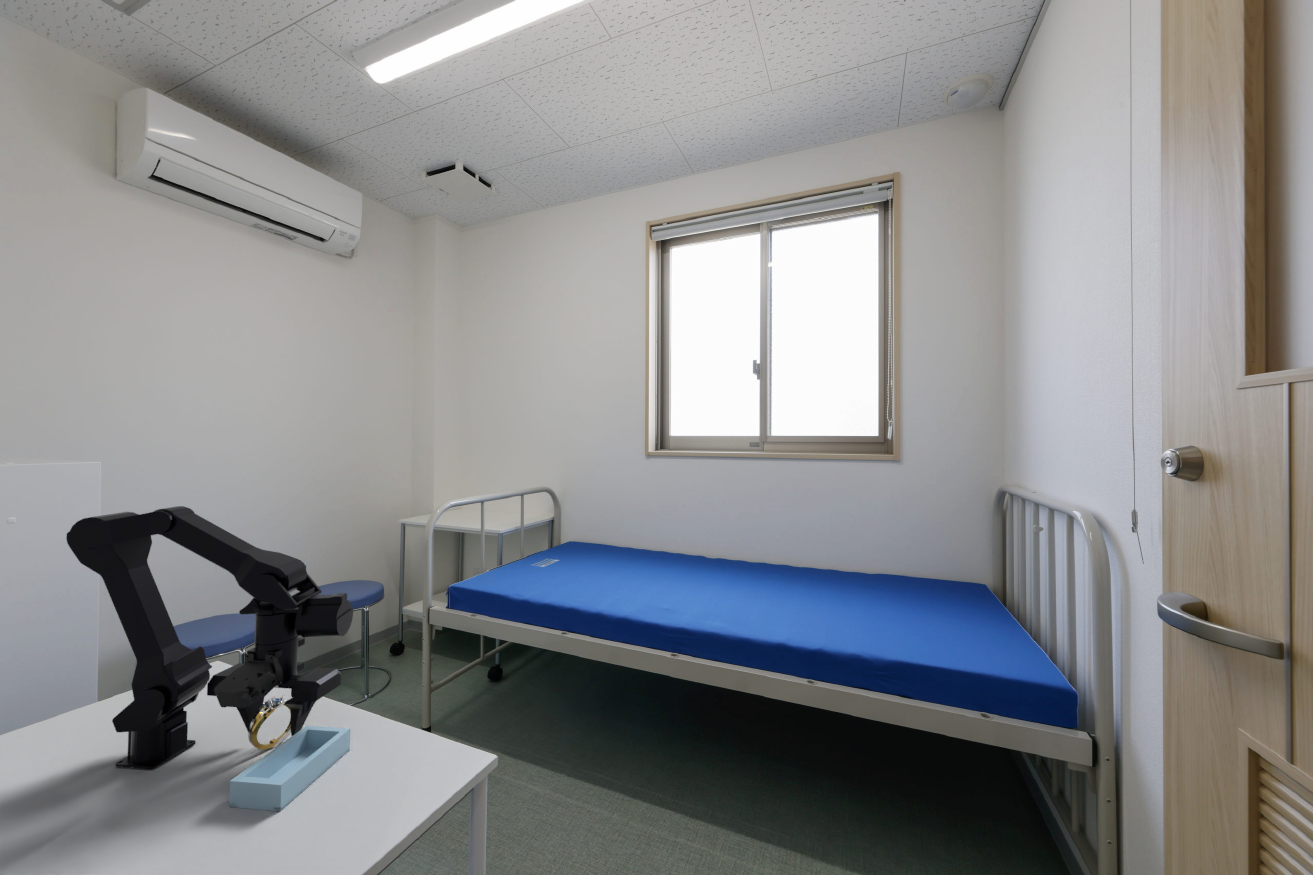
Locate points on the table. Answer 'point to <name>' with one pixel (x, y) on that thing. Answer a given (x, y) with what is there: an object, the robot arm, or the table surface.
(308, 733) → the box
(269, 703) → the ring
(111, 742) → the table surface
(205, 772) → the table surface
